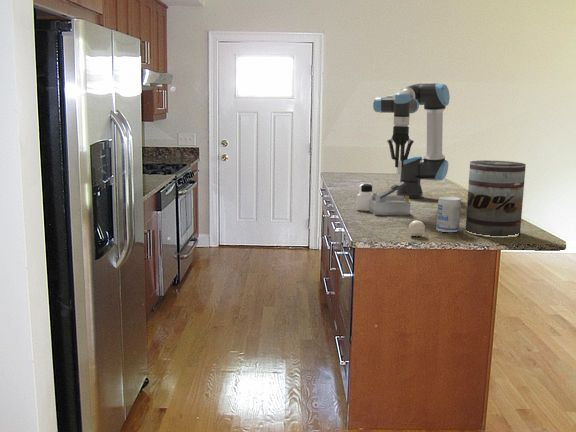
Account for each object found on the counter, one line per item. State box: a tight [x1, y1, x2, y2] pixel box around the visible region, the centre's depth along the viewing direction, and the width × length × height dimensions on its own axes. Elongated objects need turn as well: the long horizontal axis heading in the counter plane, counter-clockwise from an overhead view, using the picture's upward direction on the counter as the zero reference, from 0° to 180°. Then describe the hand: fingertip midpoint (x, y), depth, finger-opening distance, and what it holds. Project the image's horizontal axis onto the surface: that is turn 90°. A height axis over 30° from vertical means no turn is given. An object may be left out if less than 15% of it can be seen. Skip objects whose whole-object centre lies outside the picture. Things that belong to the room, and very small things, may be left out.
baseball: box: [408, 219, 426, 237], centre depth 268 cm, size 7×7×7 cm
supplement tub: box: [435, 195, 462, 233], centre depth 278 cm, size 10×10×15 cm
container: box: [355, 183, 373, 212], centre depth 330 cm, size 8×8×13 cm
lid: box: [375, 182, 406, 199], centre depth 320 cm, size 16×4×2 cm, turn 97°
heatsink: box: [368, 192, 411, 216], centre depth 321 cm, size 18×10×10 cm, turn 97°
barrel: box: [465, 159, 527, 236], centre depth 277 cm, size 22×22×30 cm
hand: (398, 174), depth 319 cm, fingers closed
